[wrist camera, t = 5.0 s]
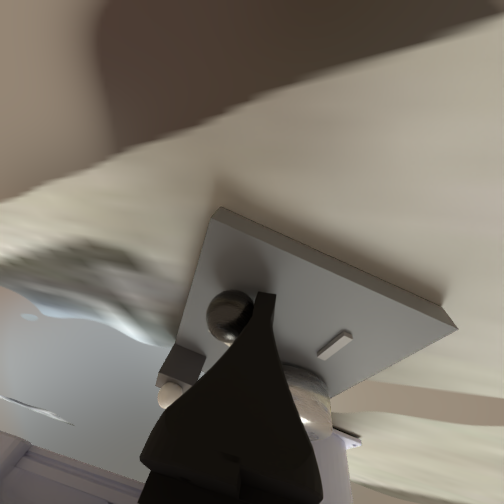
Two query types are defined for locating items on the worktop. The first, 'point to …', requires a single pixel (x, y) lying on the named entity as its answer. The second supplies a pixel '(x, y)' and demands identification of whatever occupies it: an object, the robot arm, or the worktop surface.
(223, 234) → the slate board
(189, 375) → the dark grey block
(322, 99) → the worktop surface
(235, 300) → the silver metal piece
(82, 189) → the worktop surface
